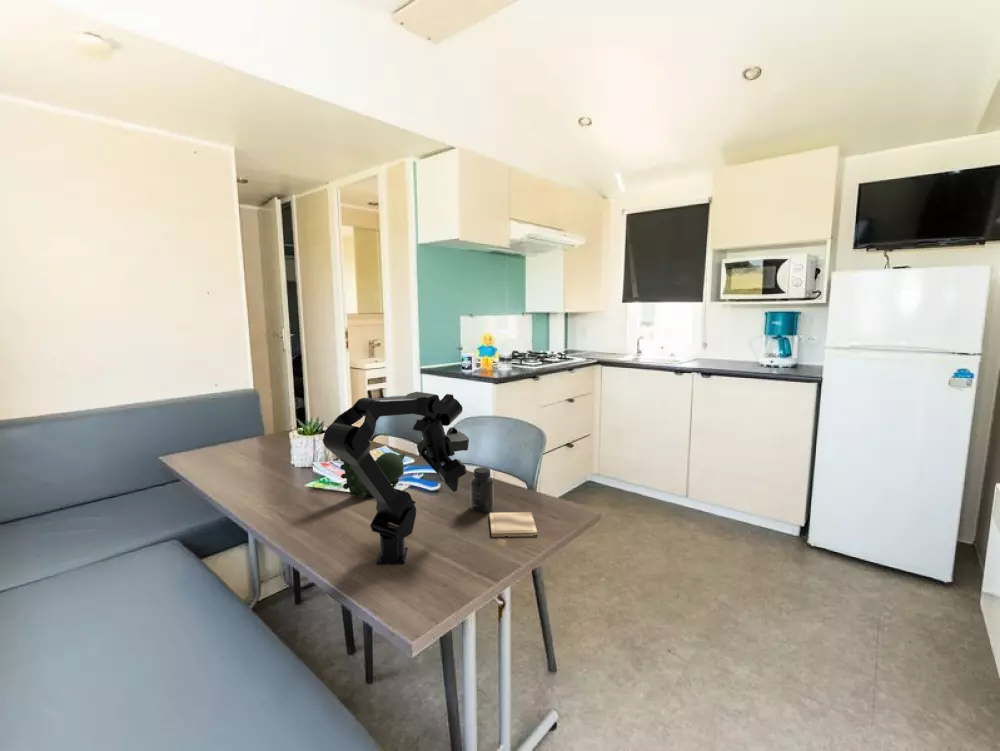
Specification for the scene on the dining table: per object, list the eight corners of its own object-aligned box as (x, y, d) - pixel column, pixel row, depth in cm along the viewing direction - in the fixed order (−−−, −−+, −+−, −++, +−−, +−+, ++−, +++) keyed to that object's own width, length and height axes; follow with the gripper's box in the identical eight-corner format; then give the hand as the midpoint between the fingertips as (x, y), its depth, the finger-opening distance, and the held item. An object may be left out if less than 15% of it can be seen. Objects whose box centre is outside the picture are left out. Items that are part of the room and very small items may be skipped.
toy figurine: (359, 512, 139) (417, 479, 159) (353, 452, 135) (413, 426, 155) (338, 504, 144) (397, 473, 164) (331, 446, 140) (392, 422, 160)
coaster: (537, 536, 123) (537, 532, 123) (491, 536, 123) (491, 532, 122) (531, 515, 135) (531, 511, 135) (489, 516, 134) (489, 512, 134)
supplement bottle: (481, 501, 144) (481, 464, 142) (498, 508, 140) (499, 469, 138) (465, 509, 139) (465, 470, 137) (482, 515, 134) (483, 475, 133)
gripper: (478, 437, 117) (489, 485, 124) (446, 409, 132) (458, 454, 139) (438, 457, 113) (452, 506, 120) (409, 426, 128) (424, 471, 135)
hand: (447, 482), depth 129 cm, fingers open, 9 cm apart
